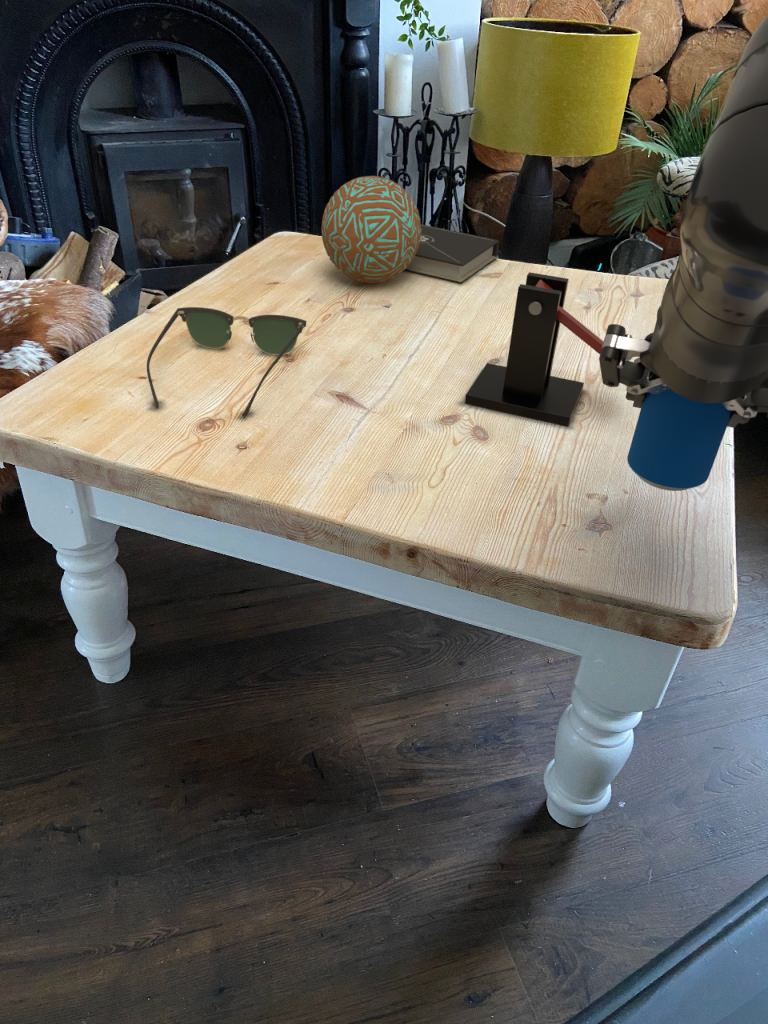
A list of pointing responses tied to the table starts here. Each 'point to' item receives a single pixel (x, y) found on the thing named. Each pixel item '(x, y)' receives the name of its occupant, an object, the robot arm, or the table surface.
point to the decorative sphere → (371, 229)
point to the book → (452, 254)
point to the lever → (576, 325)
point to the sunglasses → (216, 332)
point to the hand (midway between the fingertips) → (685, 405)
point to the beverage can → (676, 440)
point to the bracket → (530, 360)
